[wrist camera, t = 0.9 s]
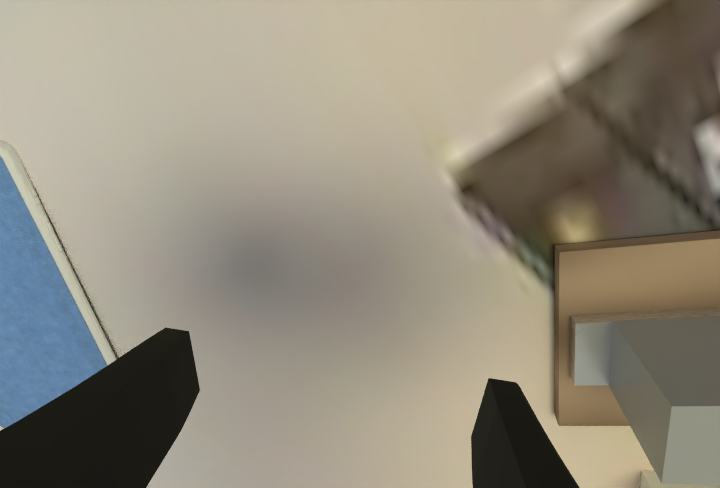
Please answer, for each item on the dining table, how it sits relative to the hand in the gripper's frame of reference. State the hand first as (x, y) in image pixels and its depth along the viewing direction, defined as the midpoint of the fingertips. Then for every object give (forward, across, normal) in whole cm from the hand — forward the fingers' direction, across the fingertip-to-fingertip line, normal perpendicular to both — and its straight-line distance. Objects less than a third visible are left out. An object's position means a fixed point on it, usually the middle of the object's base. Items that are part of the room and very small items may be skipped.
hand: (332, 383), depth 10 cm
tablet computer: (+11, +23, +10) cm, 27 cm away
